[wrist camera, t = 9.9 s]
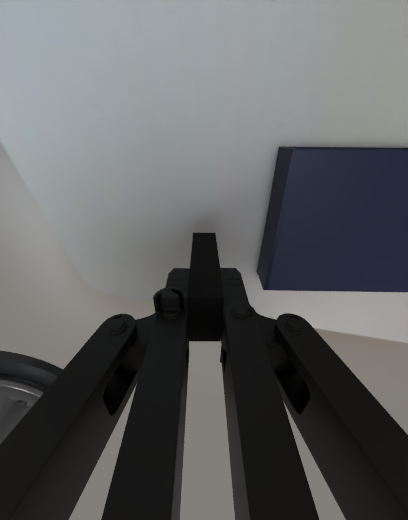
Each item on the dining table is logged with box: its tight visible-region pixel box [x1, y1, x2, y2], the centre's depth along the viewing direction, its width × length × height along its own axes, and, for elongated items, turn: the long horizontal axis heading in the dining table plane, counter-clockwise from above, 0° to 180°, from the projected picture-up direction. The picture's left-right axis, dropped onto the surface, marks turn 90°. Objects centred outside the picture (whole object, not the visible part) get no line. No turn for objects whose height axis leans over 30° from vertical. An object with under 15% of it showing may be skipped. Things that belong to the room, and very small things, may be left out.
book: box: [257, 147, 408, 292], centre depth 18 cm, size 16×12×3 cm
